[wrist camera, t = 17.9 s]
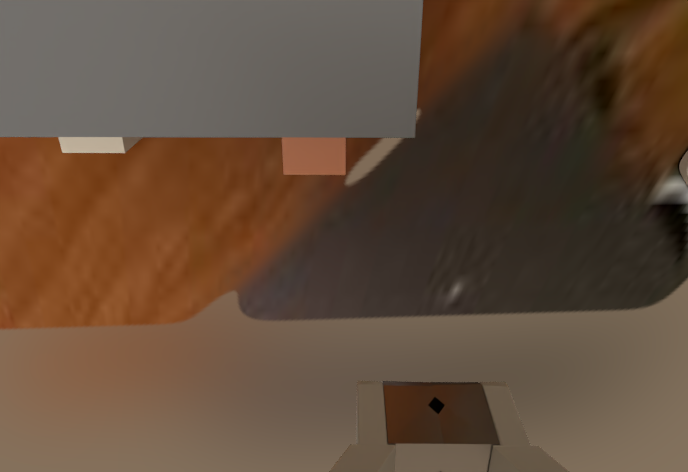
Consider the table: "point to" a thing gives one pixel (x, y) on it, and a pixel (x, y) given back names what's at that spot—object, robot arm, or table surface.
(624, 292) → the table surface
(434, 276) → the table surface
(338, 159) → the rust plug
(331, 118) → the block
